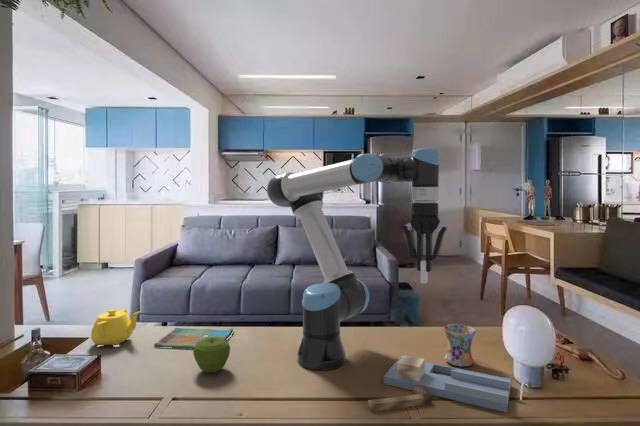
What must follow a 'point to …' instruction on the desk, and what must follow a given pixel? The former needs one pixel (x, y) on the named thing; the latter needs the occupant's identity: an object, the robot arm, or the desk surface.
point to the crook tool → (401, 400)
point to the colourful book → (190, 337)
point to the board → (458, 385)
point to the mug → (459, 344)
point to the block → (411, 368)
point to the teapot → (113, 327)
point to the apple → (211, 354)
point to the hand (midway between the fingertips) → (424, 282)
